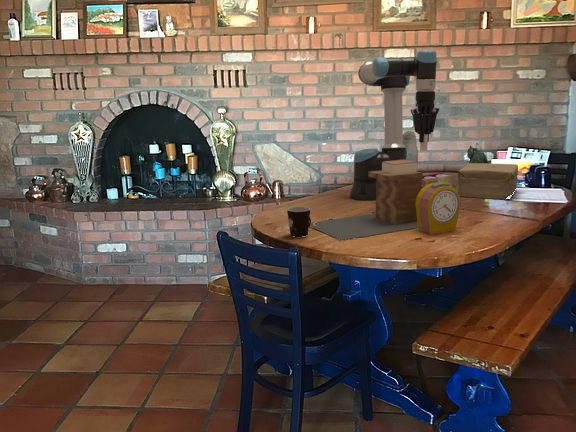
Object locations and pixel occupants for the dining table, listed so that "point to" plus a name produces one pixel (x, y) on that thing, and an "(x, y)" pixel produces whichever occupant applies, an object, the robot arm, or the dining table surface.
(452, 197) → the alarm clock
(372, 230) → the mat
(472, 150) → the ceramic cat
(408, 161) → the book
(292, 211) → the coffee mug
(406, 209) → the stand
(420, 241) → the dining table surface
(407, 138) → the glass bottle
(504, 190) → the paper package
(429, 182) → the gum box
